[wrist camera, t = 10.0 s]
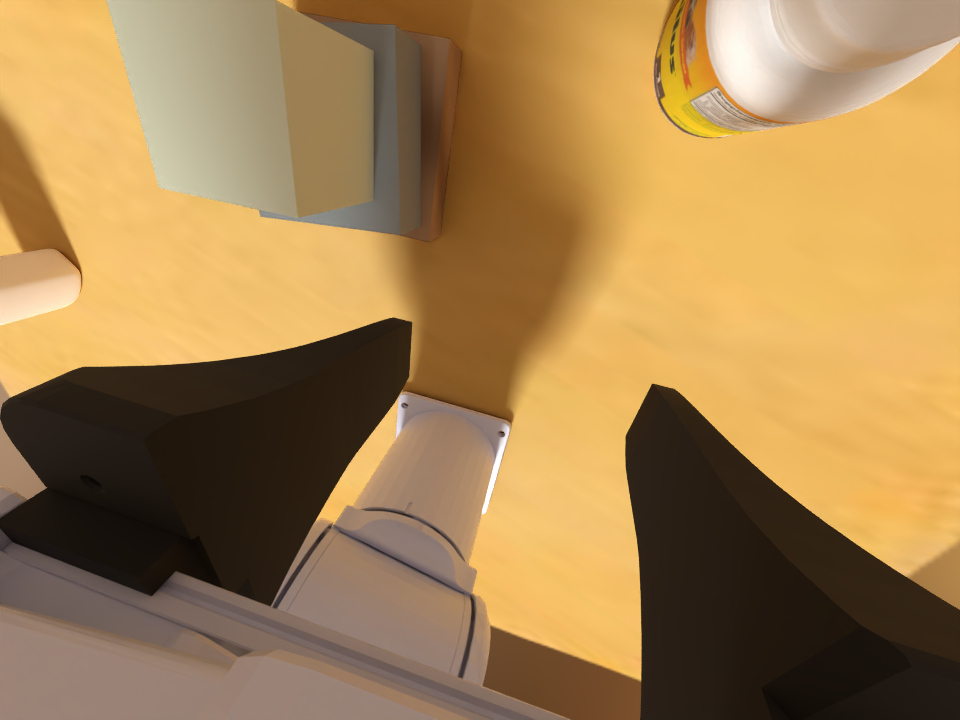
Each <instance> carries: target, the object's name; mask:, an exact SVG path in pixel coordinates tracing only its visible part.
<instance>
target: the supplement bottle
mask: <svg viewBox="0 0 960 720" xmlns="http://www.w3.org/2000/svg"><path fill="white" fill-rule="evenodd" d="M959 42H960V0H679V1H678V3H677V5H676V6H675V8H674V10H673V11H672V13H671V15H670V17H669V19H668V21H667V23H666V25H665V27H664V29H663V32H662V34H661V37H660V40H659V43H658V47H657V50H656V55H655V60H654V72H653V78H654V89H655V95H656V98H657V102H658V104H659V106H660V109H661V111H662V112H663V114H664V115H665V117H666V118H667V119H668V120H669V122H670V123H671V124H672V125H674V126H675V127H676V128H678V129H679V130H681V131H682V132H684V133H687V134H689V135H692V136H696V137H702V138H722V137H727V136H733V135H738V134H744V133H750V132H756V131H762V130H767V129H772V128H778V127H783V126H789V125H796V124H801V123H806V122H812V121H818V120H823V119H827V118H831V117H835V116H838V115H842V114H845V113H848V112H851V111H854V110H857V109H859V108H862V107H865V106H867V105H869V104H871V103H873V102H875V101H877V100H879V99H881V98H883V97H885V96H887V95H889V94H891V93H892V92H894V91H896V90H898V89H899V88H901V87H903V86H904V85H906V84H907V83H909V82H911V81H912V80H914V79H915V78H917V77H918V76H919V75H921V74H922V73H924V72H925V71H926V70H928V69H929V68H930V67H931V66H933V65H934V64H935V63H936V62H937V61H939V60H940V59H941V58H942V57H944V56H945V55H946V54H947V53H948V52H950V51H951V50H952V49H953V48H954V47H955V46H956V45H957V44H958V43H959Z"/></svg>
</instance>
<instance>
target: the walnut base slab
mask: <svg viewBox="0 0 960 720" xmlns="http://www.w3.org/2000/svg"><path fill="white" fill-rule="evenodd" d="M300 13H301V14H303V15H305V16H307V17H309V18H311V19H313V20H315V21H317V22H336V23H360V22H354V21H348V20H343V19H337V18H331V17H326V16H320V15H315V14H309V13H303V12H300ZM363 24H365V23H363ZM402 31H404V32H405V33H406V34H408V35H409V36H410V37H411V38H413V39H414V40H415V41H416V42H418V43H419V44H420V45H421V227H419V228H416V229H414V230H412V231H409V232H407V233H404V234H402V235H400V236H405V237H409V238H413V239H417V240H421V241H425V242H430V241H432V240H434V239H436V238H438V237H440V233H441V225H442V217H443V208H444V200H445V192H446V183H447V175H448V166H449V158H450V150H451V141H452V133H453V125H454V116H455V108H456V99H457V91H458V83H459V74H460V66H461V58H462V51H461V50H460V48H459V47H458V46H457V45H456V44H455V43H454V42H453V41H452V40H451V39H450V38H444V37H438V36H433V35H427V34H422V33H416V32H410V31H405V30H402Z"/></svg>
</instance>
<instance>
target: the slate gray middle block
mask: <svg viewBox="0 0 960 720" xmlns="http://www.w3.org/2000/svg"><path fill="white" fill-rule="evenodd" d="M319 23H321V24H323V25H325V26H327V27H328V28H330V29H332V30H334V31H336V32H338V33H340V34H342V35H344V36H346V37H348V38H350V39H352V40H354V41H355V42H357V43H359V44H361V45H363V46H365V47H367V48H369V49H371V50H373V51H374V201H371V202H367V203H363V204H358V205H354V206H349V207H345V208H340V209H336V210H332V211H327V212H323V213H318V214H314V215H309V216H305V217H300V218H295V217H290V216H286V215H281V214H277V213H272V212H267V211H263V210H259V212H260V217H267V218H275V219H282V220H290V221H298V222H305V223H313V224H320V225H328V226H335V227H343V228H351V229H358V230H366V231H373V232H381V233H388V234H396V235H402V234H404V233H407V232H409V231H412V230H414V229H416V228H419V227H421V45H420V44H419V43H418V42H416V41H415V40H414V39H413V38H411V37H410V36H409V35H408V34H406V33H405V32H404V31H402V30H401V29H400V28H399V27H397V26H396V25H390V24H363V23H336V22H319Z"/></svg>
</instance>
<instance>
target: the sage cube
mask: <svg viewBox="0 0 960 720" xmlns="http://www.w3.org/2000/svg"><path fill="white" fill-rule="evenodd" d="M107 4H108V8H109V11H110V15H111V18H112V22H113V25H114V29H115V33H116V36H117V40H118V43H119V47H120V50H121V54H122V57H123V61H124V65H125V68H126V72H127V75H128V79H129V82H130V86H131V89H132V93H133V97H134V100H135V104H136V107H137V111H138V114H139V118H140V122H141V125H142V129H143V132H144V136H145V139H146V143H147V146H148V150H149V154H150V157H151V161H152V164H153V168H154V171H155V175H156V178H157V182H158V186H159V188H162V189H166V190H171V191H176V192H180V193H185V194H189V195H194V196H199V197H203V198H208V199H212V200H217V201H221V202H226V203H231V204H235V205H240V206H244V207H249V208H254V209H258V210H263V211H267V212H272V213H277V214H281V215H286V216H290V217H295V218H300V217H305V216H309V215H314V214H318V213H323V212H327V211H332V210H336V209H340V208H345V207H349V206H354V205H358V204H363V203H367V202H371V201H374V51H373V50H371V49H369V48H367V47H365V46H363V45H361V44H359V43H357V42H355V41H354V40H352V39H350V38H348V37H346V36H344V35H342V34H340V33H338V32H336V31H334V30H332V29H330V28H328V27H327V26H325V25H323V24H321V23H319V22H317V21H315V20H313V19H311V18H309V17H307V16H305V15H303V14H301V13H300V12H298V11H296V10H294V9H292V8H290V7H288V6H286V5H284V4H282V3H280V2H278V1H276V0H107Z"/></svg>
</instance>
